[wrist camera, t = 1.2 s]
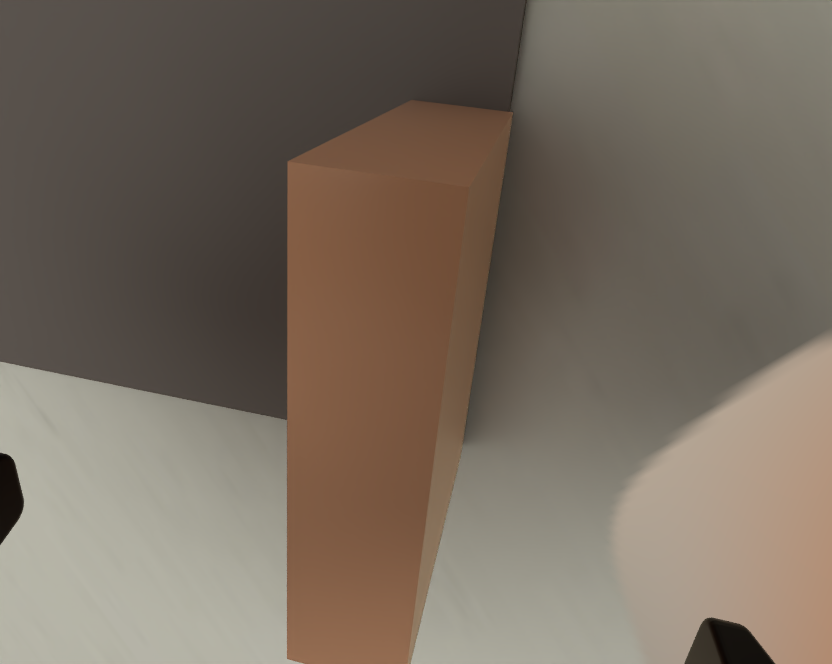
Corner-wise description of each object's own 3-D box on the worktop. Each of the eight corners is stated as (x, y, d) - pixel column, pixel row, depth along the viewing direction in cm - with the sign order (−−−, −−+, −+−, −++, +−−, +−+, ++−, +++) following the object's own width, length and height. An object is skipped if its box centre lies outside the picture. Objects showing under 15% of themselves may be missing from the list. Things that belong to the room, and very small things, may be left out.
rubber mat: (563, -250, 11) (564, -259, 11) (459, 445, 18) (457, 454, 18) (-280, -285, 14) (-303, -293, 13) (-94, 334, 21) (-106, 339, 20)
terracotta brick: (513, 112, 14) (468, 186, 7) (460, 455, 18) (404, 689, 11) (411, 99, 14) (287, 161, 8) (383, 439, 18) (287, 659, 12)
